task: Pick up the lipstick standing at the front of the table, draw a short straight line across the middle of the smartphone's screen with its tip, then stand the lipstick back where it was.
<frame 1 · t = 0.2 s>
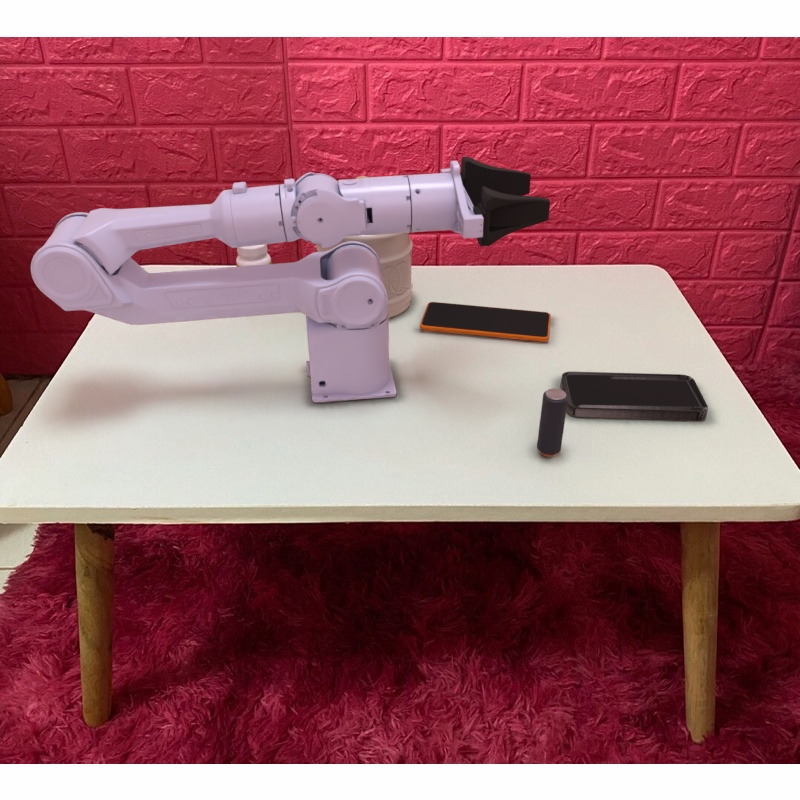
hand: (538, 195, 80), 21 cm above the table, tool horizontal, fingers open, 7 cm apart
supplement bottle: (258, 300, 109), on the table
phone: (630, 400, 87), on the table
smartphone: (485, 325, 102), on the table
jar: (366, 303, 108), on the table
lipstick: (548, 451, 79), on the table
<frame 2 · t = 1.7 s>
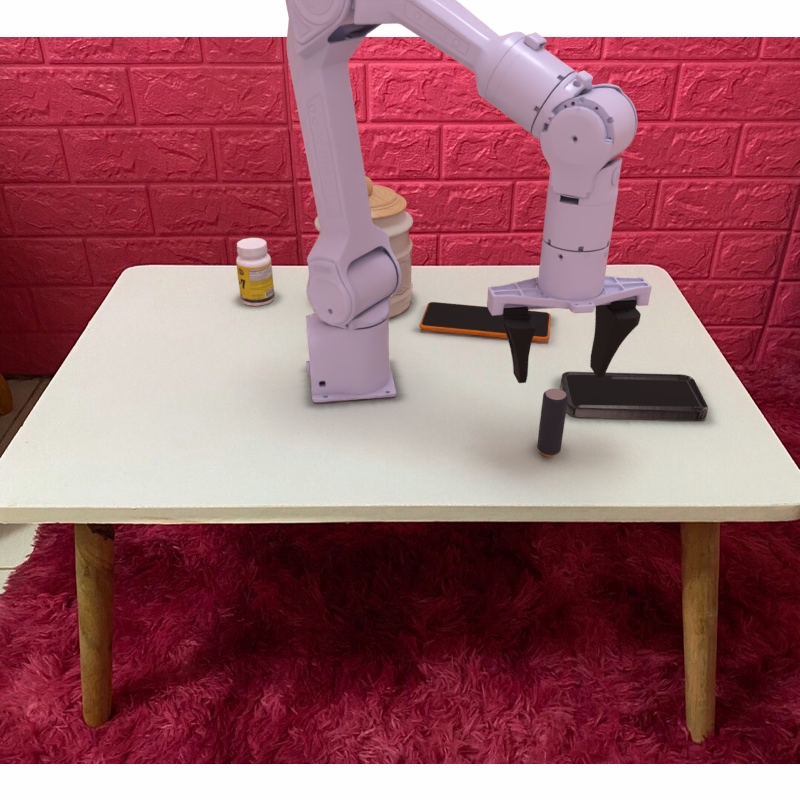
hand: (558, 374, 74), 9 cm above the table, tool pointing down, fingers open, 7 cm apart
nothing on the table moved.
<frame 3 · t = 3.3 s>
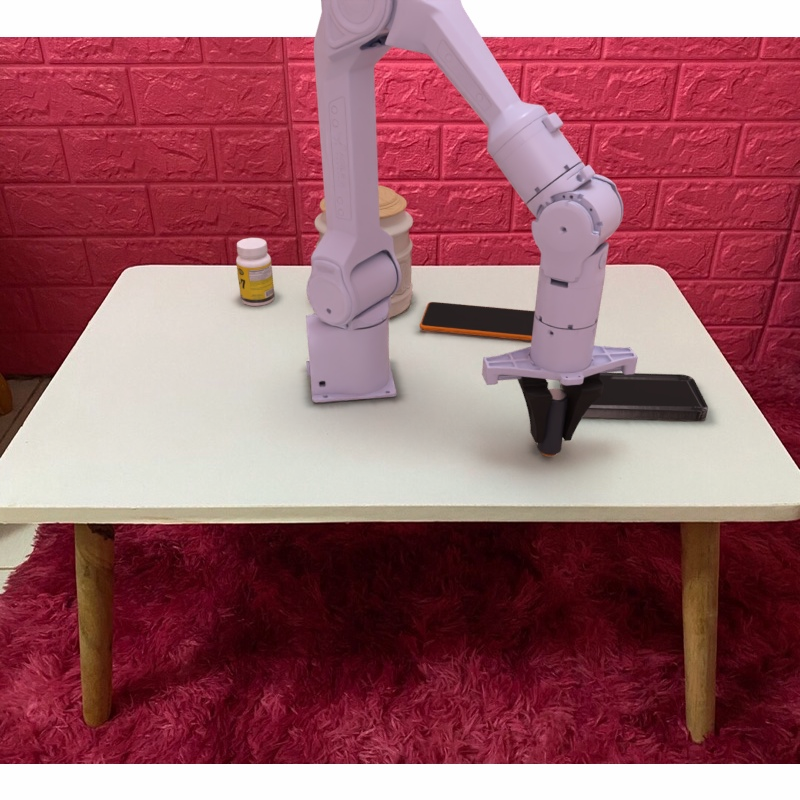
hand: (550, 436, 78), 2 cm above the table, tool pointing down, fingers closed on lipstick, 2 cm apart
lipstick: (548, 451, 79), on the table, touching gripper
everything else where it was.
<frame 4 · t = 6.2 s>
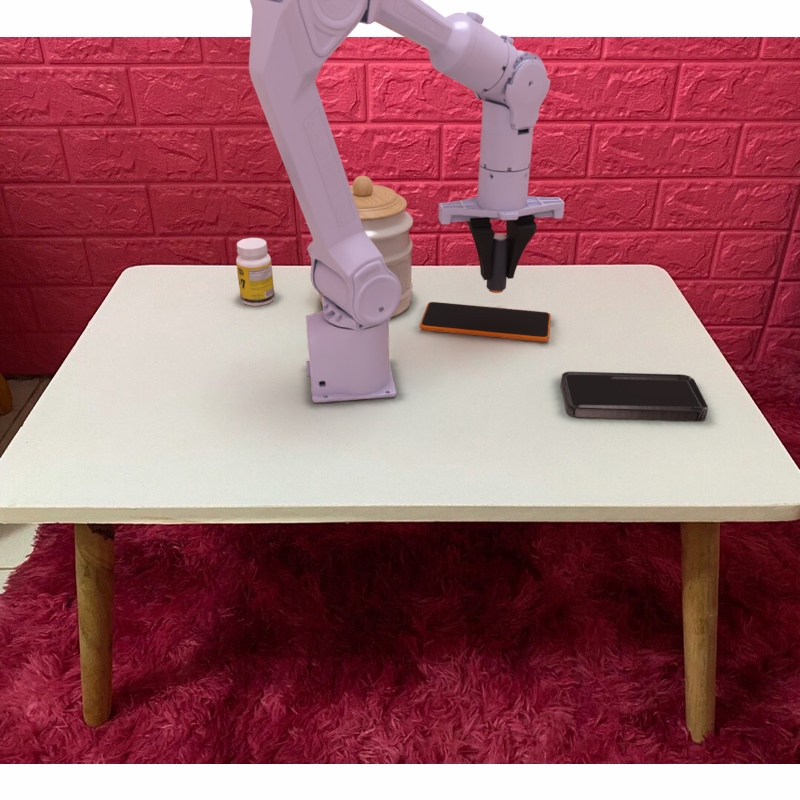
hand: (496, 276, 94), 9 cm above the table, tool pointing down, fingers closed on lipstick, 2 cm apart
lipstick: (495, 290, 95), point 7 cm above the table, touching gripper
everything else where it was.
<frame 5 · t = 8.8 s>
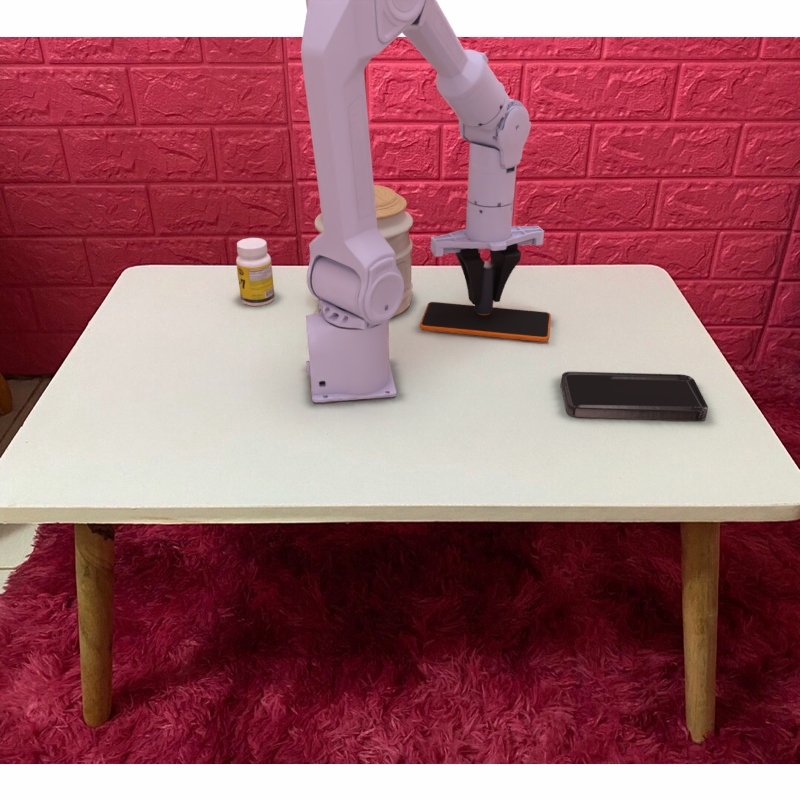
hand: (483, 300, 102), 3 cm above the table, tool pointing down, fingers closed on lipstick, 2 cm apart
lipstick: (483, 313, 103), point 1 cm above the table, touching gripper
everything else where it was.
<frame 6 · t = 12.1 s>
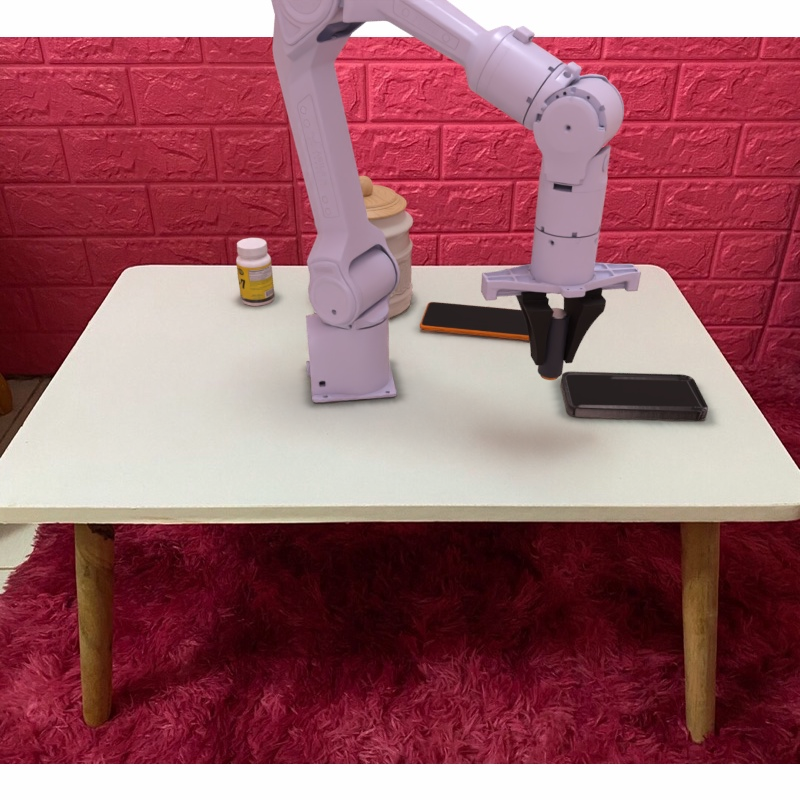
hand: (551, 359, 76), 9 cm above the table, tool pointing down, fingers closed on lipstick, 2 cm apart
lipstick: (549, 375, 77), point 8 cm above the table, touching gripper
everything else where it was.
when the fingers open (2 cm above the table, at t = 14.3 s): lipstick stays where it is, on the table.
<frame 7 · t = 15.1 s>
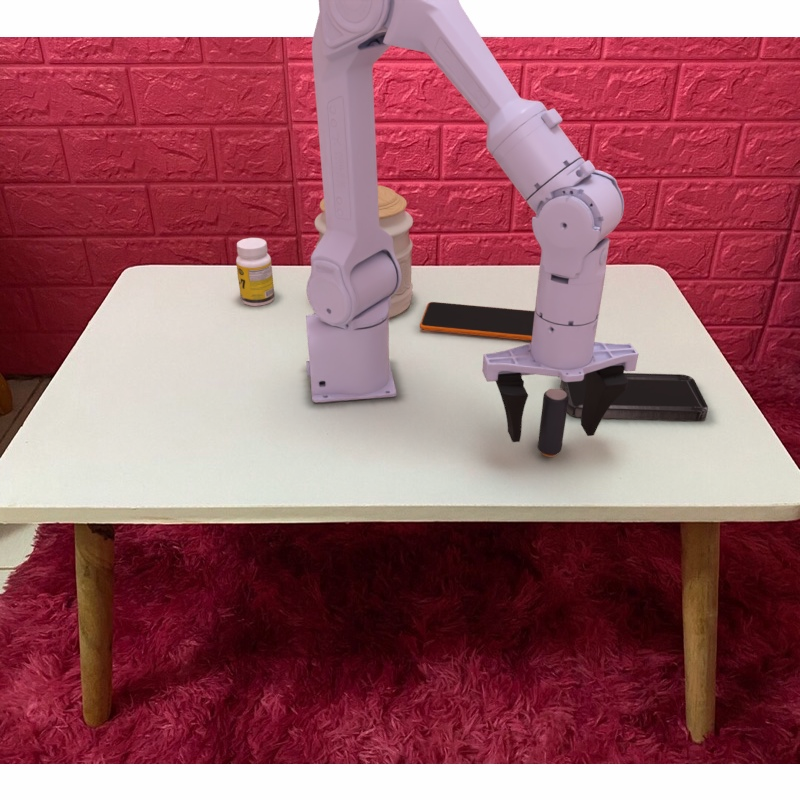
hand: (550, 433, 77), 2 cm above the table, tool pointing down, fingers open, 7 cm apart
lipstick: (548, 451, 79), on the table
everything else where it was.
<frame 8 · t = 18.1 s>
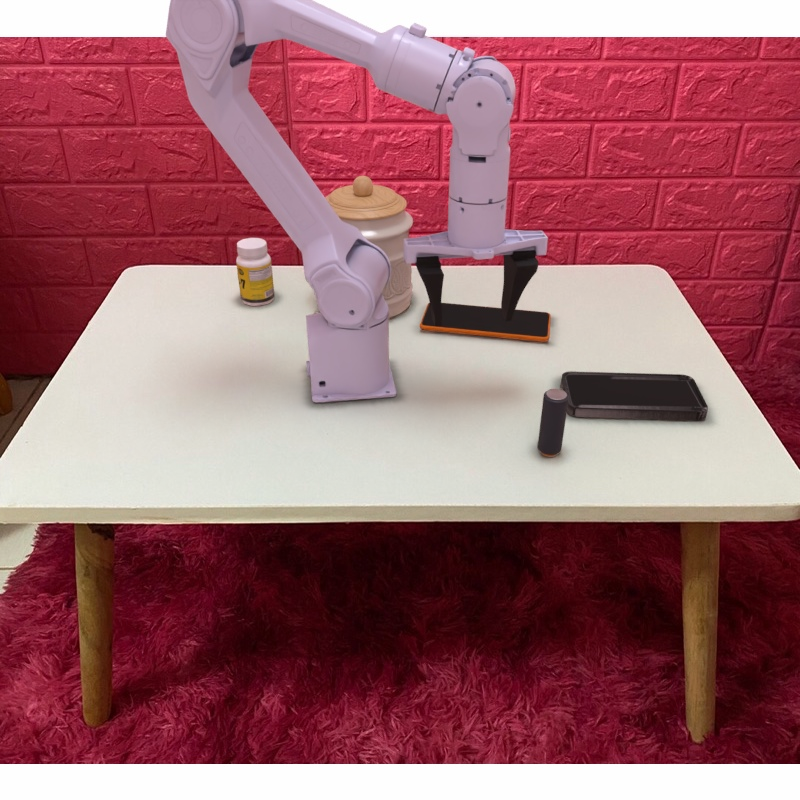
hand: (471, 319, 83), 9 cm above the table, tool pointing down, fingers open, 7 cm apart
nothing on the table moved.
at the end: lipstick tilted 0°; lipstick 0.1 cm from the target spot, on the table; smartphone moved 0.0 cm from its start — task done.
